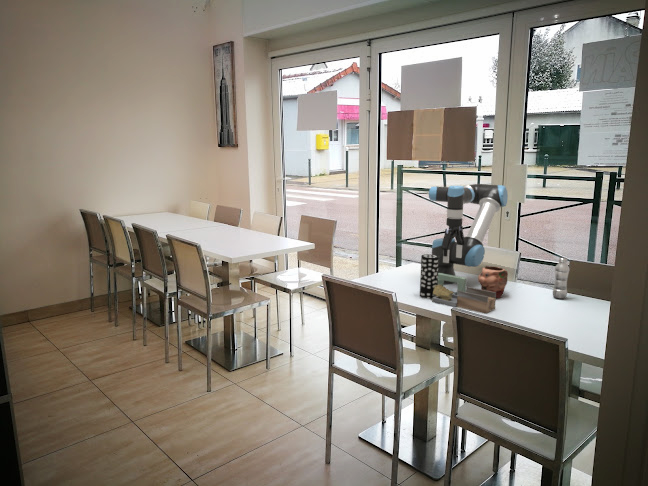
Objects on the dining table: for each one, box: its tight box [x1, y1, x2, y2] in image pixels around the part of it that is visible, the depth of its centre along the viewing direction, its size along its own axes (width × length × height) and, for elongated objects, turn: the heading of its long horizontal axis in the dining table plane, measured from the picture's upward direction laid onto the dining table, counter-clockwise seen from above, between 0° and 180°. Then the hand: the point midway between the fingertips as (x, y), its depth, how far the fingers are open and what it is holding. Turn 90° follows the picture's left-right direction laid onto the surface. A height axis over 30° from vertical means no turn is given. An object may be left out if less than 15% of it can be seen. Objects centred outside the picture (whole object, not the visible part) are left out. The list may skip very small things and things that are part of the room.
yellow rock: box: [433, 284, 447, 297], centre depth 245 cm, size 4×4×4 cm
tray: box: [431, 293, 458, 308], centre depth 243 cm, size 12×12×2 cm
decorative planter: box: [477, 265, 509, 299], centre depth 252 cm, size 20×12×14 cm, turn 130°
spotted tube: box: [419, 253, 439, 300], centre depth 249 cm, size 8×8×20 cm
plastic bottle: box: [552, 256, 570, 300], centre depth 248 cm, size 6×7×20 cm
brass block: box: [440, 288, 454, 301], centre depth 243 cm, size 4×4×4 cm
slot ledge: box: [456, 286, 497, 314], centre depth 234 cm, size 10×14×8 cm
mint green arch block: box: [438, 273, 467, 295], centre depth 257 cm, size 6×15×8 cm, turn 49°
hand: (452, 260), depth 255 cm, fingers open, 13 cm apart
